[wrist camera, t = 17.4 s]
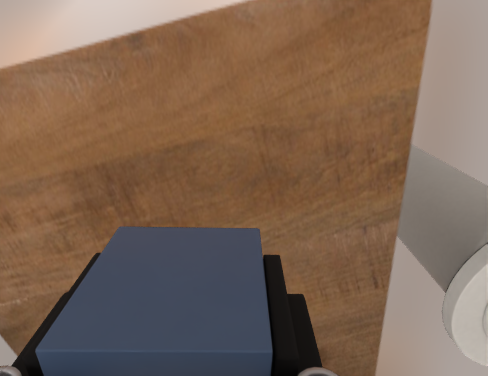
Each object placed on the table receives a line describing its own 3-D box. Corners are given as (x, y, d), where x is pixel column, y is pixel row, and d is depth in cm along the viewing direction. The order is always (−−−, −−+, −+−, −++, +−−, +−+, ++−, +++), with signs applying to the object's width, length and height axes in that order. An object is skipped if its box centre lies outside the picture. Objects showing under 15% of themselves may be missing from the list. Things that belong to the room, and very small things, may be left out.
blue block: (259, 227, 10) (272, 352, 6) (254, 329, 12) (262, 478, 8) (119, 225, 10) (33, 350, 6) (135, 328, 12) (79, 478, 8)
